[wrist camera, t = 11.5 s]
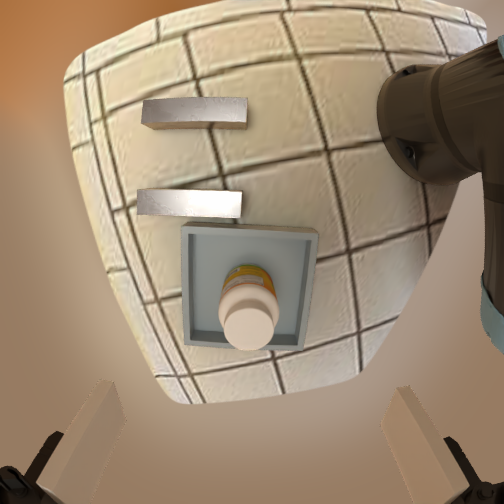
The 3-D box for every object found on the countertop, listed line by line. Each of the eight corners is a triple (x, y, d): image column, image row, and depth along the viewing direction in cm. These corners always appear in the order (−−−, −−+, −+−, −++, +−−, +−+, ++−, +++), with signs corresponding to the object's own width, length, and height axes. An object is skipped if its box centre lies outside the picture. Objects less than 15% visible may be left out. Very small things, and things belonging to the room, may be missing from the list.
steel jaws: (247, 108, 27) (247, 97, 23) (241, 213, 30) (240, 218, 26) (156, 109, 27) (143, 100, 23) (150, 209, 29) (137, 214, 26)
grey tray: (312, 228, 30) (319, 233, 27) (298, 337, 33) (302, 350, 31) (187, 221, 30) (181, 226, 27) (189, 331, 33) (184, 344, 30)
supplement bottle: (270, 309, 32) (279, 359, 22) (223, 306, 32) (214, 356, 22) (274, 263, 30) (287, 301, 21) (224, 260, 30) (215, 297, 21)
